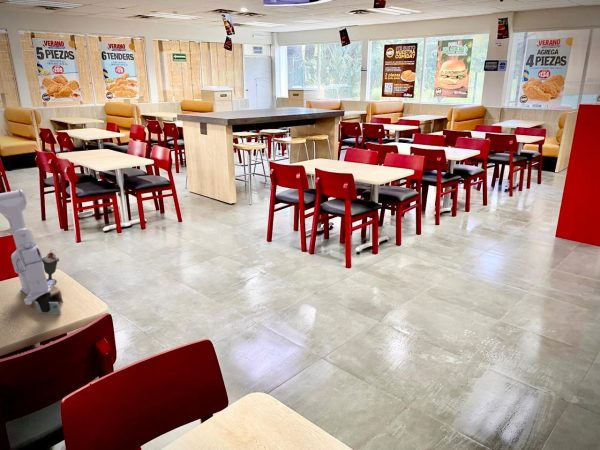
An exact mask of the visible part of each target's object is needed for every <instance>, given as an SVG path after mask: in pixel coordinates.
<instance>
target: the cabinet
mask: <svg viewBox="0 0 600 450" xmlns="http://www.w3.org/2000/svg"><path fill="white" fill-rule="evenodd" d="M51 289H52V290H51V291H50V293H51V296H50V299H49V302H58V304H59V305H60V304H61V303H63V302H64V300H63V297H62V293H61V290H60V289H58V288H57V287H55V286H52V287H51ZM29 293H30V292H28V293H26V294H25V295H26V297H27V296H28V295H29ZM35 302H36V301H35V300H34V301H33V302H32V304H31V305H29V306H30V307H32V308H33V309H34V310H35V311H37V312H38V310H37V307H36V304H35Z"/></svg>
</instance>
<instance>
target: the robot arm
mask: <svg viewBox="0 0 600 450" xmlns="http://www.w3.org/2000/svg"><path fill="white" fill-rule="evenodd" d="M26 207H27V198H26V196H25V192H24V190H22V189H16V190H12V191H7V192H1V193H0V213H1V214H4V215H6V217H7V221H8V224H9V227H10V230H11V231H10V232H11V234H12V236H13V237H12V238H13V240H14V244H15V248H16V250H15V251H13V253H12V254H11V256H10V258H11V263H12V266H13V269H14V272H15V273H16V274H18V278H19V281H20V284H21V287H20V288H19V290H20V291H22V292H23V293H24V294H25V295H26V293H28V292H30V293H29V295H28V296H26V297H25V298H24V299H23V301H24V305H26V306H27V305H28V306H30V305H31V304H32V302H33V301H34V300H35V301H36V302H37V303H38V304H39V306H40V308H41V311H42V312H48V311H50V306H49V299H50V296H51V293H50V291H51V290H52V289H51V287H52V286H54V287H55V286H56V285H57V282H56V283H55V280H56V279H55V280H49V281H48V282H47V280H46V279H47V277H46V272H45V270H44V265H43V262H42V258H43V256H42V253H41V250H40V248H39V246H38V244H37V243H36V241H35V239H34V236H33V234H32V231H31V229H29V228H26V224H25V219H24V215H23V211H24V210H25V209H26Z"/></svg>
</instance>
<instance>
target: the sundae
mask: <svg viewBox="0 0 600 450" xmlns="http://www.w3.org/2000/svg"><path fill="white" fill-rule="evenodd" d="M58 262H60V258H59V257H57V255H56V253H54V252H52V250H50V252H49V253H47V254H46V256H44V257H42V263H43V269H44V272H45V274H47V275H48V277H47V278H46V280H47V282H48V281H49V280H55V283H56V284H57V280H56V279H55V278H53V277H52V276H53V274H55V273H56V270H57V263H58Z"/></svg>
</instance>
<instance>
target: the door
mask: <svg viewBox="0 0 600 450" xmlns="http://www.w3.org/2000/svg"><path fill="white" fill-rule="evenodd" d="M35 304H36V307H37V310H38V311H37V310H36V311H37V312H38V314H52V315H60V314H62V311H61V307H60V303H59V304H58V302H49V306H50V311H48V312H42V311H41V308H40V306H39V304H38V303H37V302H35Z"/></svg>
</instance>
